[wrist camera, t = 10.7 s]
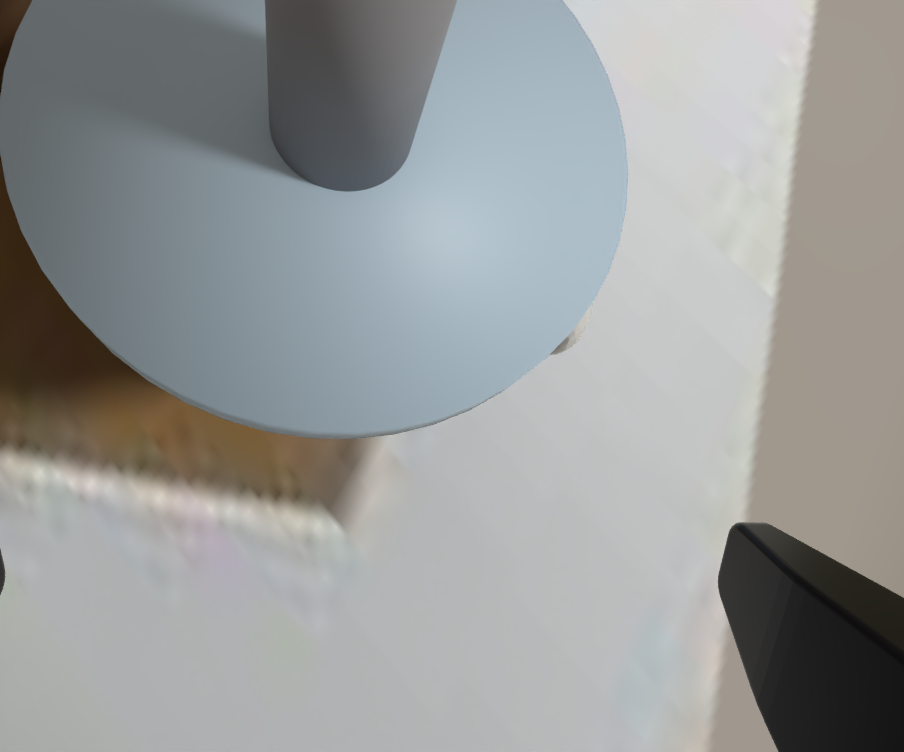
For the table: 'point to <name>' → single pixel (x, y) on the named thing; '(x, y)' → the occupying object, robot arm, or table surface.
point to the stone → (9, 27)
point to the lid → (317, 196)
